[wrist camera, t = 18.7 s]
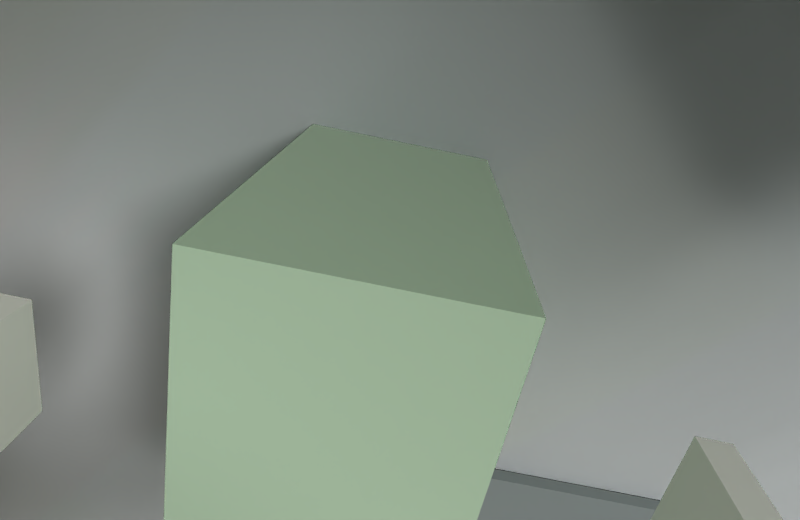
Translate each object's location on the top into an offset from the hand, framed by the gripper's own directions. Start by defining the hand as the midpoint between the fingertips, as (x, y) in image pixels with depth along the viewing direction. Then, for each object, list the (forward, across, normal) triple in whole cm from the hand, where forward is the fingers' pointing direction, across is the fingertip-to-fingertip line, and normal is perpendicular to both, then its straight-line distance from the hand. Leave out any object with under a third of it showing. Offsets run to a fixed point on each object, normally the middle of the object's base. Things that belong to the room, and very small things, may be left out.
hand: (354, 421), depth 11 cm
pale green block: (+10, 0, 0) cm, 10 cm away
